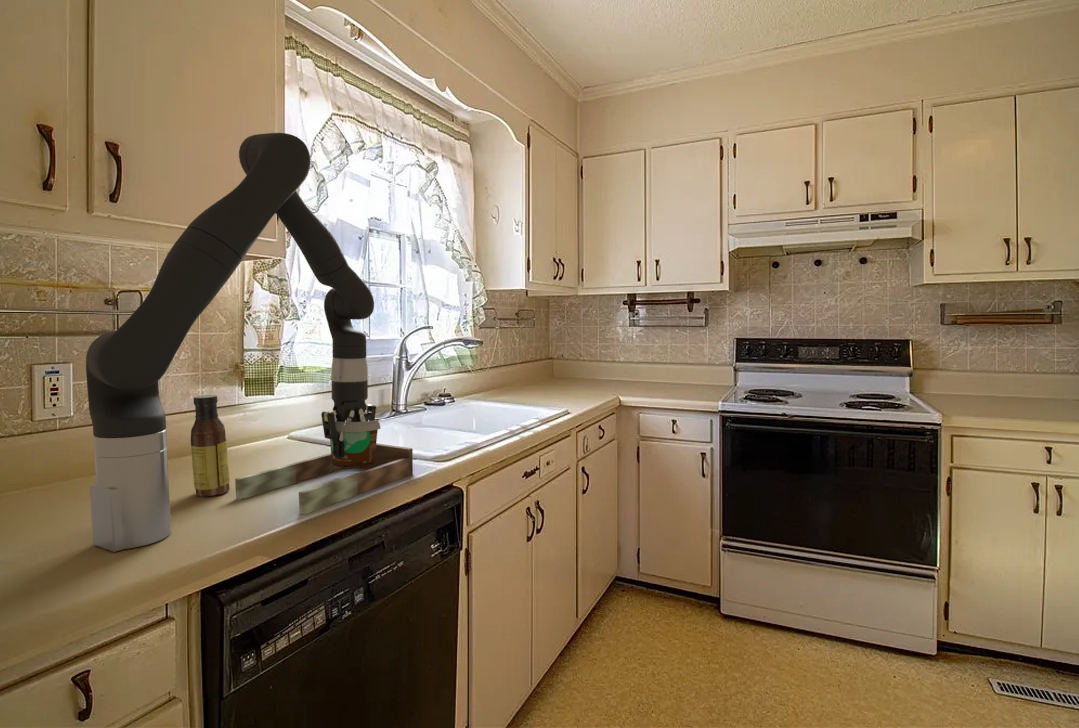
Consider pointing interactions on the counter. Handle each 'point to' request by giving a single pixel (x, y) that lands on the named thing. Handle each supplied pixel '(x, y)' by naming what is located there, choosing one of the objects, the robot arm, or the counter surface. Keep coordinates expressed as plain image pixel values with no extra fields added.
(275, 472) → the crate bay
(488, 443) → the counter surface
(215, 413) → the sauce bottle
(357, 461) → the food container
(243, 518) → the counter surface
